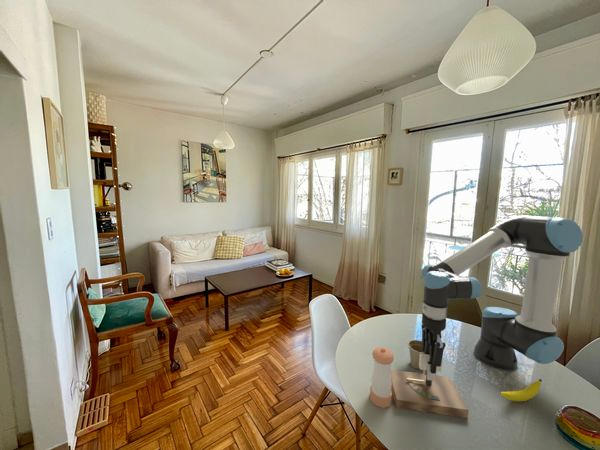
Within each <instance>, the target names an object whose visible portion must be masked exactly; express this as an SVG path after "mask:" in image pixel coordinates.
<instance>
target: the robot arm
mask: <svg viewBox="0 0 600 450" xmlns="http://www.w3.org/2000/svg"><path fill="white" fill-rule="evenodd" d="M583 235H584V234H583V230H582V228H581V226H580V225H578V223H577V222H576V221H574V220H573V219H570V218H565V217H558V216H552V217H551V216H538V215H537V216H536V215H528V214H525V215H517V216H514V217H511V218H508V219H505V220H502V221H501V222H499V223H497V224H495V225H494V226H491V227H490V228H489V229H487V233H485V234H483V235H482V236H480V237H479V238H478V239H475V240H473V242H472V243H469V244H467V245H466V246H464V247H463V248H461V249H460V250H459V251H457V252H455V253H454V254H452V255H450V256H449V257H448V258H446V259H444V260H443V261H441V262H439V263H438V264H436V265H435V264H427V265H425V266H424V267H423V268H422V270H421V276H422V277H421V278H422V279H423V280H424V282H423V286H424V287H423V303H422V306H421V308H422V315H421V330H422V331H421V341H422V351H423V352H424V354H428V355H430V362H428V361H427V363H428V369H427V370H423V374H424V375H426V372H427V380H434V381H435V380H436V375H437V371H436V368H437V366H439V367H441V362H442V363H443V355H444V350H445V349H446V348H445V347H446V342H443V341H442V331H444V330H445V329H446V326H447V316H448V306H449V305H448V304H449V300H471V299H477V298H479V297H480V296H481V295H482V293H483V287H482V283H481V282H480V281H479V280H478V279H477V278H476V277H474V276H461V274H463V273H465V272H466V271H468V270H469V269H471V268H472V267H474V266H476V265H477V264H479V263H480V262H482V261H483V260H485V259H486V258H488V257H490V256H491V255H493V254H494V253H496V252H498V251H499V250H501V249H502V248H503V249H507V248H509V247H510V246H513V245H524V246H525V250H524V251H525V252H526V253H527V254H528V255H529V259H528V263H527V265H528V266H527V272H526V278H525V284H524V292H523V299H522V304H521V311H520V315H518V312H516V311H514V310H511V309H509V308H506V307H505V308H504V307H500V306H499V307H498V306H487V307H485V308H483V312H482V315H481V323H480V324H481V325H480V326H481V327H480V338H479V339H478V341H477V342H476V344H475V345H474V348H473V349H474V350H473V355H474V356H475V357H476V358H477V359H478V360H479V361H480V362H482V363H484V364H486V365H487V366H490V367H493V368H496V369H499V370H503V371H513V370H515V369H517V368H518V358H517V355H516V351H517V352H519V353H520V354H522V355H523V356H525V357H526V358H527V359H530V360H532V361H534V362H535V363H538V364H541V365H548V364H552V363H553V362H555V361H556V360H557V359H559V357H560V356H562V353H563V351H564V349H565V343H564V342H563V340H562V339H561V338H559V337H558V336H557V327H556V326H555V325H554V324H553V323H552V322H553V319H554V311H555V305H556V300H557V299H556V298H557V294H558V287H559V281H560V275H561V269H562V264H563V261H564V260H566V259H567V258H569V257H570V253H571V254H572V253H575V252H576V251H578V250H579V249H580V248H579V247H581V246H582V244H583V238H584V236H583Z"/></svg>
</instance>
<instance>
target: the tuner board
mask: <svg viewBox="0 0 600 450" xmlns="http://www.w3.org/2000/svg"><path fill="white" fill-rule="evenodd" d="M407 378H411V379H419V380H424V381H425V383H423V382H415V381H407ZM391 382H392V385H391V391H392V397H393V398H394V400H393V401H394V402H395V406H396V407H395V408H397V409H402V410H403V409H404V410H410V411H415V412H416V411H417V412H423V413H428V414H429V413H430V414H437V415H442V416H444V415H445V416H450V417H456V418H464V419H468V418H469V408H468V407H467V405H466V403H465V402H464V400H463V398H462V397H461V395H460V393H459V391H458V390H457V388H456V387H455V385H454V383H453V382H452V380H451V378H450V377H449V376H443V375H438V374H436V380H435V381H434V380H432V385H431V386H428V385H427V384H426V375H424V373H421V372H413V371H412V372H411V371H405V370H404V371H403V370H397V369H391Z"/></svg>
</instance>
